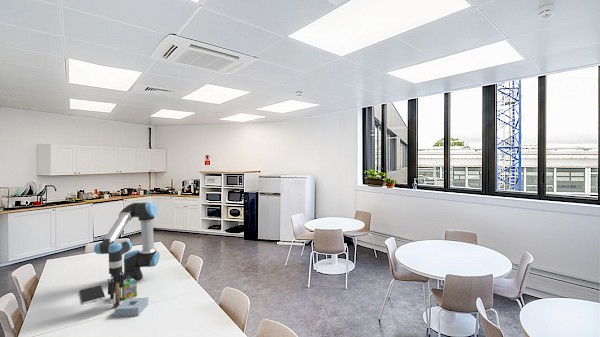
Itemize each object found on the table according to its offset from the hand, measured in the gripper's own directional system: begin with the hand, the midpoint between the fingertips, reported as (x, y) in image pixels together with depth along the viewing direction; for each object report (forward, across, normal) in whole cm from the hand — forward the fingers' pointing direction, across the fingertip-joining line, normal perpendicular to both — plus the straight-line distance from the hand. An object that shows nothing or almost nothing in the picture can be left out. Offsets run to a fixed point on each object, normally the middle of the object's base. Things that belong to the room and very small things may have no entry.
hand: (116, 300), depth 189 cm
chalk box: (+5, -15, 0) cm, 16 cm away
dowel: (+5, 0, 0) cm, 5 cm away
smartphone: (+5, -21, -28) cm, 35 cm away
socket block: (+5, +6, +13) cm, 15 cm away
